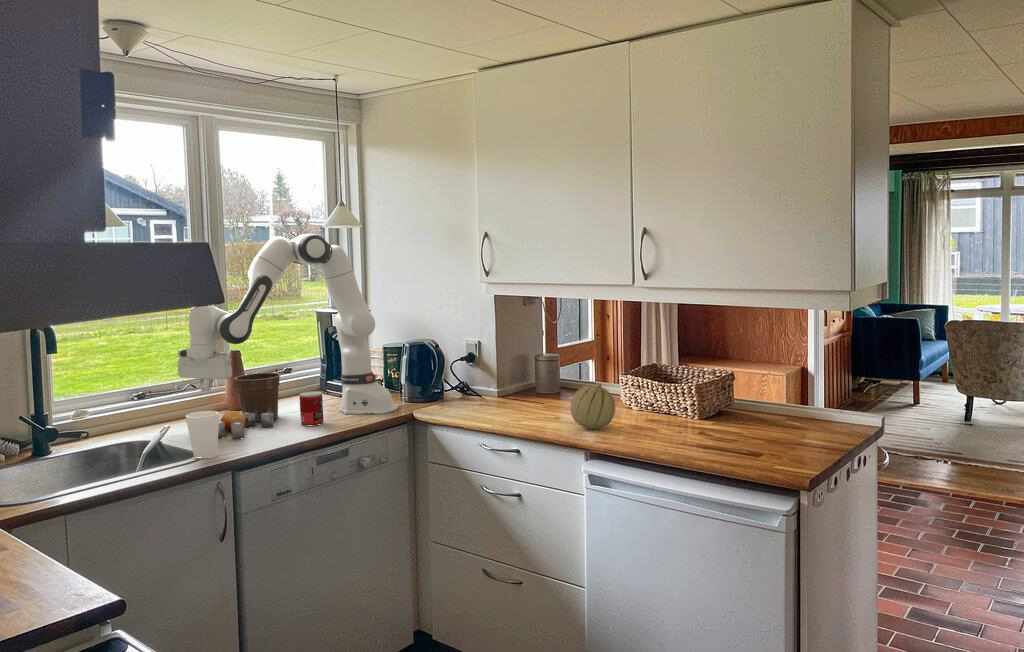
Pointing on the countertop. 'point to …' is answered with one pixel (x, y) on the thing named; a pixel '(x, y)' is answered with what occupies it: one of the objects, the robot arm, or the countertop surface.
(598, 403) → the cantaloupe
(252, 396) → the plant pot
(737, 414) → the countertop surface
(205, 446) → the foam cup
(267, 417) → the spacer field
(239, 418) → the fruit
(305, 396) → the canned food
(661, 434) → the countertop surface
